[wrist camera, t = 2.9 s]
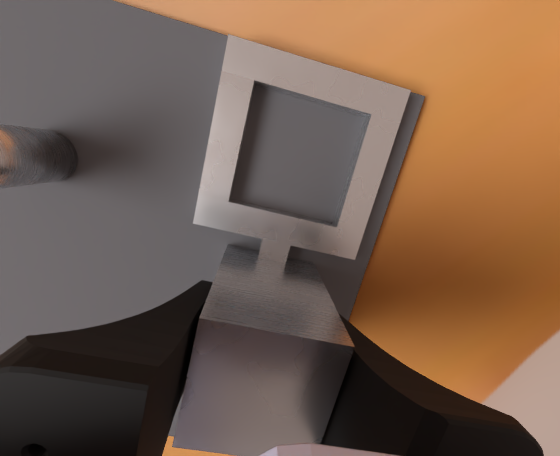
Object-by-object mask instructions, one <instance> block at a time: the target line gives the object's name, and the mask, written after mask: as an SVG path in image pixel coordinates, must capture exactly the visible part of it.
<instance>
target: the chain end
mask: <svg viewBox="0 0 560 456" xmlns="http://www.w3.org/2000/svg"><path fill="white" fill-rule="evenodd" d="M255 86H259V87H262V88H265V89H269V90H272V91H276V92H279V93H283V94H286V95H290V96H293V97H297V98H300V99H303V100H307V101H310V102H314V103H317V104H321V105H324V106H328V107H331V108H335V109H338V110H341V111H345V112H348V113H352V114H355V115H359V116H362V117H364V120H363V123H362V126H361V130H360V133H359V136H358V140H357V143H356V146H355V150H354V153H353V156H352V159H351V163H350V166H349V169H348V173H347V176H346V179H345V183H344V186H343V189H342V193H341V196H340V199H339V203H338V206H337V209H336V213H335V216H334V219H333V222H332V223H329V222H325V221H321V220H317V219H312V218H308V217H304V216H300V215H296V214H291V213H287V212H283V211H279V210H275V209H271V208H266V207H262V206H258V205H254V204H250V203H245V202H241V201H237V200H233V199H231V194H232V189H233V185H234V180H235V175H236V171H237V166H238V161H239V157H240V152H241V147H242V143H243V138H244V133H245V129H246V124H247V119H248V115H249V110H250V105H251V101H252V96H253V91H254V87H255ZM410 92H411V90H409V89H405V88H402V87H399V86H396V85H392V84H389V83H386V82H383V81H379V80H376V79H373V78H370V77H366V76H363V75H360V74H356V73H353V72H350V71H347V70H343V69H340V68H337V67H334V66H330V65H327V64H324V63H321V62H317V61H314V60H311V59H308V58H304V57H301V56H298V55H295V54H291V53H288V52H285V51H282V50H278V49H275V48H272V47H269V46H265V45H262V44H259V43H256V42H252V41H249V40H246V39H243V38H239V37H236V36H233V35H230V34H228V39H227V45H226V50H225V55H224V60H223V66H222V71H221V76H220V82H219V87H218V92H217V98H216V103H215V108H214V114H213V119H212V124H211V130H210V135H209V140H208V146H207V151H206V156H205V162H204V167H203V172H202V178H201V183H200V188H199V193H198V199H197V204H196V209H195V215H194V220H193V224H198V225H202V226H206V227H211V228H215V229H220V230H224V231H229V232H233V233H238V234H242V235H246V236H251V237H255V238H260V239H261V243H260V247H259V251H257V250H253V249H248V248H243V247H239V246H234V245H230V244H228V245H227V247H226V250H225V253H224V255H223V258H222V260H221V263H220V265H219V268H218V271H217V273H216V276H215V278H214V281H213V284H212V286H211V289H210V291H209V294H208V297H207V299H206V302H205V304H204V307H203V310H202V312H201V315H200V317H199V321H198V326H197V331H196V336H195V341H194V345H193V350H192V355H191V360H190V364H189V369H188V374H187V379H186V384H185V388H184V393H183V398H182V403H181V407H180V412H179V417H178V422H177V427H176V431H175V436H174V441H173V446H172V447H176V448H184V449H191V450H199V451H207V452H214V453H222V454H229V455H237V456H258V455H260V454H262V453H264V452H265V451H267V450H269V449H271V448H273V447H275V446H277V445H280V444H294V443H314V444H321V441H322V438H323V435H324V433H325V430H326V427H327V424H328V421H329V418H330V416H331V413H332V410H333V407H334V404H335V402H336V399H337V396H338V393H339V390H340V388H341V385H342V382H343V379H344V376H345V374H346V371H347V368H348V365H349V362H350V359H351V357H352V354H353V351H354V348H355V346H354V344H353V342H352V340H351V338H350V336H349V334H348V332H347V330H346V328H345V326H344V324H343V322H342V320H341V318H340V316H339V314H338V312H337V310H336V307H335V305H334V303H333V301H332V299H331V297H330V295H329V293H328V291H327V289H326V287H325V285H324V283H323V281H322V279H321V277H320V275H319V273H318V271H317V269H316V267H315V265H314V263H312V262H307V261H303V260H298V259H293V258H289V257H288V253H289V249H290V245H291V246H295V247H300V248H304V249H309V250H313V251H318V252H322V253H326V254H331V255H335V256H340V257H344V258H349V259H353V260H355V258H356V255H357V252H358V249H359V246H360V243H361V240H362V237H363V234H364V231H365V228H366V225H367V222H368V219H369V216H370V213H371V210H372V207H373V204H374V201H375V198H376V195H377V192H378V189H379V186H380V183H381V179H382V176H383V173H384V170H385V167H386V164H387V161H388V158H389V155H390V152H391V149H392V146H393V143H394V140H395V137H396V134H397V131H398V128H399V125H400V122H401V119H402V116H403V113H404V110H405V107H406V104H407V101H408V98H409V95H410Z"/></svg>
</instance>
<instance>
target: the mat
mask: <svg viewBox="0 0 560 456" xmlns="http://www.w3.org/2000/svg"><path fill="white" fill-rule="evenodd" d="M227 39H228V36H227V35H223V34H220V33H217V32H214V31H210V30H207V29H204V28H201V27H197V26H194V25H191V24H188V23H184V22H181V21H178V20H174V19H171V18H168V17H165V16H161V15H158V14H155V13H152V12H148V11H145V10H142V9H139V8H135V7H132V6H129V5H126V4H122V3H119V2H116V1H113V0H0V124H7V125H15V126H23V127H31V128H39V129H47V130H53V131H56V132H59V133H61V134H62V135H64V136H65V137H67V138H68V139H69V140H70V141H71V143H72V144H73V146H74V147H75V149H76V152H77V156H78V165H77V168H76V170H75V172H74V174H73V175H72V176H71V177H69V178H68V179H66V180H63V181H58V182H50V183H42V184H34V185H26V186H18V187H10V188H2V189H0V355H1V354H3V353H4V352H5V351H6V350H8V349H9V348H10V347H12V346H13V345H15V344H16V343H17V342H19V341H20V340H22V339H23V338H25V337H26V336H28V335H39V334H48V333H56V332H65V331H72V330H79V329H84V328H89V327H95V326H99V325H103V324H108V323H112V322H115V321H118V320H122V319H125V318H129V317H132V316H135V315H138V314H141V313H143V312H146V311H148V310H151V309H153V308H155V307H158V306H160V305H162V304H164V303H166V302H167V301H169V300H171V299H173V298H175V297H176V296H178V295H180V294H181V293H183V292H185V291H186V290H188V289H189V288H191V287H192V286H193V285H195V284H196V283H198V282H200V281H201V280H205V281H210V282H213V281H214V278H215V276H216V273H217V271H218V268H219V265H220V263H221V260H222V258H223V255H224V253H225V250H226V247H227V245H228V244H230V245H234V246H239V247H243V248H248V249H253V250H257V251H259V247H260V243H261V239H260V238H255V237H251V236H246V235H242V234H238V233H233V232H229V231H224V230H220V229H215V228H211V227H206V226H202V225H198V224H193V220H194V215H195V209H196V204H197V199H198V193H199V188H200V183H201V178H202V172H203V167H204V162H205V156H206V151H207V146H208V140H209V135H210V130H211V124H212V119H213V114H214V108H215V103H216V98H217V92H218V87H219V82H220V76H221V71H222V66H223V60H224V55H225V50H226V45H227ZM424 98H425V96H422V95H419V94H416V93H412V92H410V95H409V98H408V101H407V104H406V107H405V110H404V113H403V116H402V119H401V122H400V125H399V128H398V131H397V134H396V137H395V140H394V143H393V146H392V149H391V152H390V155H389V158H388V161H387V164H386V167H385V170H384V173H383V176H382V179H381V183H380V186H379V189H378V192H377V195H376V198H375V201H374V204H373V207H372V210H371V213H370V216H369V219H368V222H367V225H366V228H365V231H364V234H363V237H362V240H361V243H360V246H359V249H358V252H357V255H356V258H355V260H353V259H349V258H344V257H340V256H335V255H331V254H326V253H322V252H318V251H313V250H309V249H304V248H300V247H295V246H291V245H290V249H289V253H288V257H289V258H293V259H298V260H303V261H307V262H312V263H314V265H315V267H316V269H317V271H318V273H319V275H320V277H321V279H322V281H323V283H324V285H325V287H326V289H327V291H328V293H329V295H330V297H331V299H332V301H333V303H334V305H335V307H336V310H337V312H338V313H339V314H340V315H342V316H343V317H344V318H345V319H346V320H347V321H348V320H349V317H350V315H351V312H352V309H353V306H354V303H355V300H356V297H357V294H358V291H359V288H360V285H361V282H362V279H363V276H364V274H365V271H366V268H367V265H368V262H369V259H370V256H371V253H372V250H373V247H374V244H375V241H376V238H377V236H378V233H379V230H380V227H381V224H382V221H383V218H384V215H385V212H386V209H387V206H388V203H389V200H390V197H391V195H392V192H393V189H394V186H395V183H396V180H397V177H398V174H399V171H400V168H401V165H402V162H403V159H404V157H405V154H406V151H407V148H408V145H409V142H410V139H411V136H412V133H413V130H414V127H415V124H416V121H417V118H418V116H419V113H420V110H421V107H422V104H423V101H424ZM363 120H364V117H362V116H359V115H355V114H352V113H348V112H345V111H341V110H338V109H335V108H331V107H328V106H324V105H321V104H317V103H314V102H310V101H307V100H303V99H300V98H297V97H293V96H290V95H286V94H283V93H279V92H276V91H272V90H269V89H265V88H262V87H259V86H255V87H254V91H253V96H252V101H251V105H250V110H249V115H248V119H247V124H246V129H245V133H244V138H243V143H242V147H241V152H240V157H239V161H238V166H237V171H236V175H235V180H234V185H233V189H232V194H231V199H233V200H237V201H241V202H245V203H250V204H254V205H258V206H262V207H266V208H271V209H275V210H279V211H283V212H287V213H291V214H296V215H300V216H304V217H308V218H312V219H317V220H321V221H325V222H329V223H332V222H333V219H334V216H335V213H336V209H337V206H338V203H339V199H340V196H341V193H342V189H343V186H344V183H345V179H346V176H347V173H348V169H349V166H350V163H351V159H352V156H353V153H354V150H355V146H356V143H357V140H358V136H359V133H360V130H361V126H362V123H363ZM183 393H184V392H183ZM182 398H183V395H182V397H181V399H180V402H179V404H178V407H177V410H176V413H175V415H174V419H173V422H172V425H171V428H170V431H169V434H168V436H175V431H176V427H177V422H178V417H179V412H180V407H181V403H182Z"/></svg>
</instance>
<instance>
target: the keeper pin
mask: <svg viewBox="0 0 560 456" xmlns="http://www.w3.org/2000/svg"><path fill="white" fill-rule="evenodd" d="M77 165H78V156H77V152H76V149H75V147H74V146H73V144H72V143H71V141H70V140H69V139H68V138H67V137H65V136H64V135H62V134H61V133H59V132H56V131H53V130H47V129H39V128H31V127H23V126H15V125H7V124H0V189H2V188H10V187H18V186H26V185H34V184H42V183H50V182H58V181H63V180H66V179H68V178H69V177H71V176H72V175H73V174H74V172H75V170H76V168H77Z"/></svg>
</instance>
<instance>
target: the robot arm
mask: <svg viewBox="0 0 560 456" xmlns="http://www.w3.org/2000/svg"><path fill="white" fill-rule="evenodd" d="M212 284H213V282H210V281H205V280H201V281H200V282H198V283H196V284H195V285H193V286H192V287H191V288H189V289H188V290H186V291H185V292H183V293H181V294H180V295H178V296H176V297H175V298H173V299H171V300H169V301H167V302H166V303H164V304H162V305H160V306H158V307H155V308H153V309H151V310H148V311H146V312H143V313H141V314H138V315H135V316H132V317H129V318H125V319H122V320H118V321H115V322H112V323H108V324H103V325H99V326H95V327H89V328H84V329H79V330H72V331H65V332H56V333H48V334H39V335H28V336H26V337H25V338H23V339H22V340H20V341H19V342H17V343H16V344H15V345H13V346H12V347H10V348H9V349H8V350H6V351H5V352H4V353H3V354H1V355H0V456H162V454H163V450H164V447H165V444H166V441H167V438H168V434H169V431H170V428H171V425H172V422H173V419H174V415H175V413H176V410H177V407H178V404H179V402H180V399H181V397H182V395H183V392H184V388H185V384H186V379H187V374H188V369H189V364H190V360H191V355H192V350H193V345H194V341H195V336H196V331H197V326H198V321H199V317H200V315H201V312H202V310H203V307H204V304H205V302H206V299H207V297H208V294H209V291H210V289H211V286H212ZM338 314H339V313H338ZM339 316H340V318H341V320H342V322H343V324H344V326H345V328H346V330H347V332H348V334H349V336H350V338H351V340H352V342H353V344H354V346H355V348H354V351H353V354H352V357H351V359H350V362H349V365H348V368H347V371H346V374H345V376H344V379H343V382H342V385H341V388H340V390H339V393H338V396H337V399H336V402H335V404H334V407H333V410H332V413H331V416H330V418H329V421H328V424H327V427H326V430H325V433H324V435H323V438H322V441H321V444H314V443H294V444H280V445H277V446H275V447H273V448H271V449H269V450H267V451H265V452H264V453H262V454H260V455H258V456H544V454H543V450H542V448H541V446H540V445H539V444H538V442H537V441H536V439H535V438H534V437H532V435H531V434H530V433H529V432H528V431H527V430H526V429H525V428H524V427H523V426H522V425H521V424H520V423H519V422H518V421H517V420H516V419H515V418H513V417H512V416H509V415H507V414H504V413H502V412H500V411H497V410H495V409H492V408H489V407H487V406H485V405H482V404H480V403H478V402H475V401H473V400H470V399H468V398H466V397H464V396H462V395H460V394H458V393H456V392H453V391H451V390H449V389H447V388H445V387H443V386H441V385H439V384H437V383H436V382H434V381H432V380H430V379H428V378H426V377H425V376H423V375H421V374H419V373H418V372H416V371H414V370H413V369H411V368H409V367H408V366H406V365H404V364H403V363H401V362H400V361H398V360H397V359H395V358H394V357H392V356H391V355H389V354H388V353H387V352H385V351H384V350H382V349H381V348H380V347H379V346H377V345H376V344H375V343H373V342H372V341H371V340H370V339H368V338H367V337H366V336H365V335H363V334H362V333H361V332H360V331H359V330H358V329H356V328H355V327H354V326H353V325H352V324H351V323H350V322H348V321H347V320H346V319H345V318H344V317H343V316H342V315H340V314H339Z"/></svg>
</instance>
